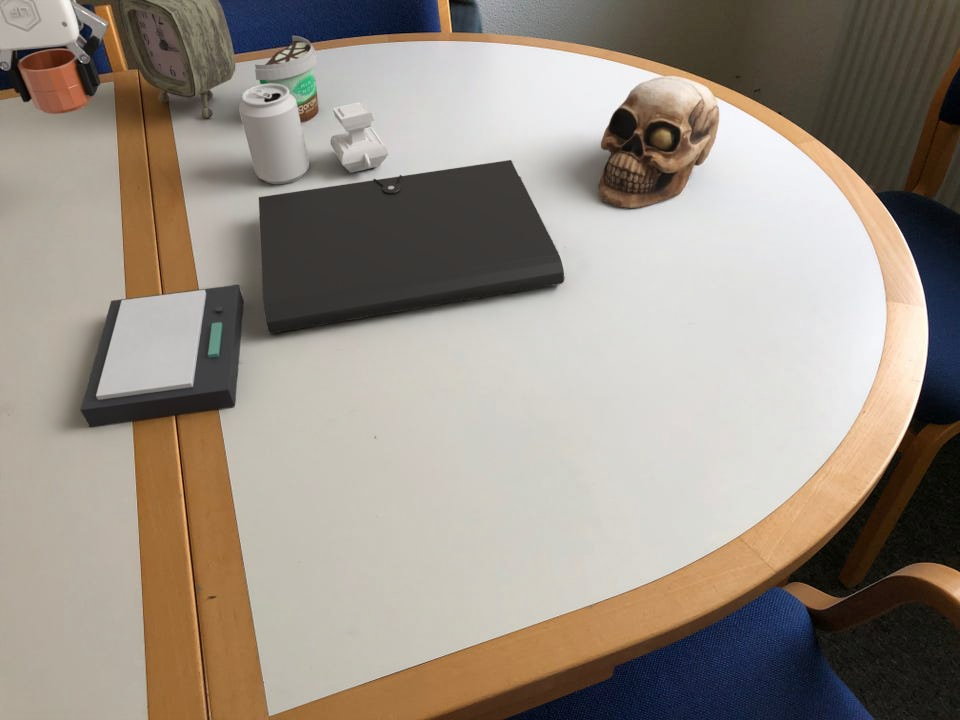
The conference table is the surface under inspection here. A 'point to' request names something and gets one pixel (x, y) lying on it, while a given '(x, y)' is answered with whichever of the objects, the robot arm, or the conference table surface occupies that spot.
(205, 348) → the scale
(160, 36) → the tabletop clock
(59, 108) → the terracotta plant pot
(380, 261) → the file folder
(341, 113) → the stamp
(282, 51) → the food container
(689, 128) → the beige skull model
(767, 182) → the conference table surface
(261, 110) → the can
